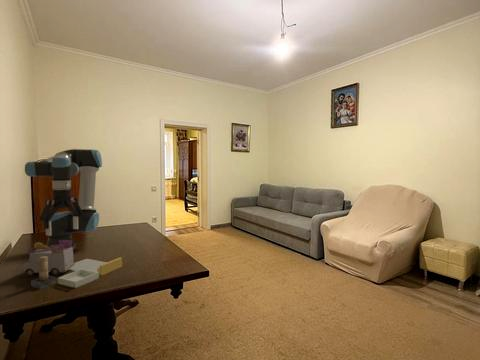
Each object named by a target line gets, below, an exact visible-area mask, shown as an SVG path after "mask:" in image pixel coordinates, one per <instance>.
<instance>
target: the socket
mask: <svg viewBox="0 0 480 360" xmlns="http://www.w3.org/2000/svg"><path fill="white" fill-rule="evenodd" d="M56 283H57V277H56V276H54V275H53V276H52V275H49V274H48V280H45V281H43V282H40V281H39V277H38V278H35V279H32V280H30V287H32V288H35V289H39V290H43V289H45V288H47V287H50V286H53V284H56Z"/></svg>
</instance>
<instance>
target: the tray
mask: <svg viewBox="0 0 480 360" xmlns="http://www.w3.org/2000/svg"><path fill="white" fill-rule="evenodd" d="M99 278H100V276H99V272H95V271H90V270H86V269H80V270H77V271H73V272H70V273H67V274H64V275H62V276H60V277H58V278H57V283H58V285H62V286H65V287H69V288H73V289H77V288H79V287H82V286H84V285H87V284H89V283H90V282H93V281H95V280H97V279H99Z"/></svg>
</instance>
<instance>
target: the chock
mask: <svg viewBox="0 0 480 360" xmlns="http://www.w3.org/2000/svg"><path fill="white" fill-rule="evenodd" d="M106 262H107V261H106ZM121 267H123V257H118V258H115V259H112V260H110V261H108V262H107V263H105V264H102V265H100V267H99V268H97V272H99V275H100V276H104V275H106V274H109V273H110V272H113V271H115V270H118V269H120V268H121Z"/></svg>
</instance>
